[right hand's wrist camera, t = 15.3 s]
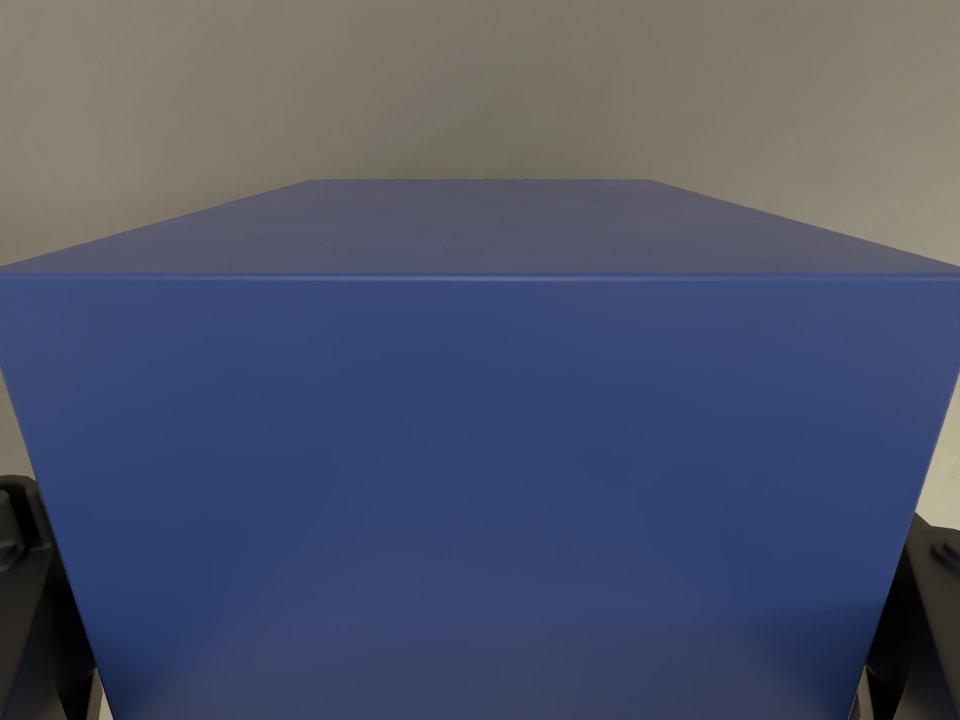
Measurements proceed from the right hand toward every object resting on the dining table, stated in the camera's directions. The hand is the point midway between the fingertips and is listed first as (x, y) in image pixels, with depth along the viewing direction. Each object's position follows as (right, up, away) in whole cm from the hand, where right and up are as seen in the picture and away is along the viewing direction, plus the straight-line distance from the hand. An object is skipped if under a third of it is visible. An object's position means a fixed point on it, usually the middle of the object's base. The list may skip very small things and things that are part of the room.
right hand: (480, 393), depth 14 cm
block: (0, +1, +3) cm, 3 cm away
